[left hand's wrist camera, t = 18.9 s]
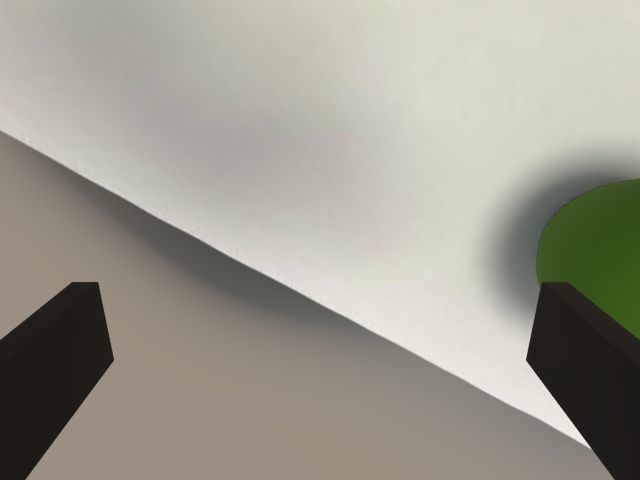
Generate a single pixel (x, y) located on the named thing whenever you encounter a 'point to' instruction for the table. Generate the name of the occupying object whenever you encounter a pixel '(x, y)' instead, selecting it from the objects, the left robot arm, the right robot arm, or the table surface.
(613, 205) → the vase
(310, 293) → the table surface
